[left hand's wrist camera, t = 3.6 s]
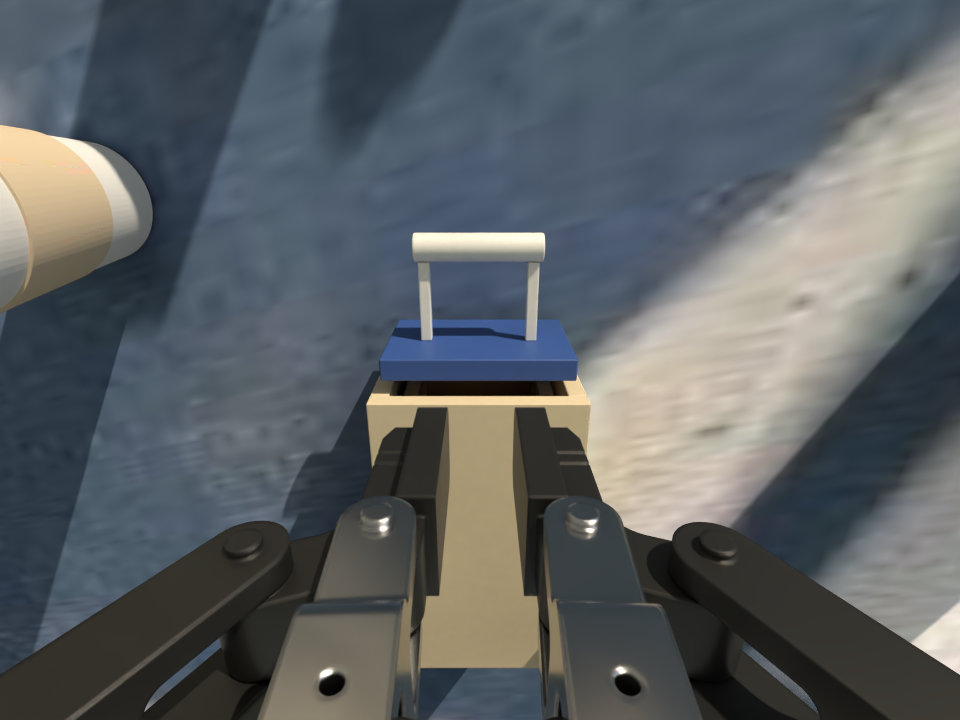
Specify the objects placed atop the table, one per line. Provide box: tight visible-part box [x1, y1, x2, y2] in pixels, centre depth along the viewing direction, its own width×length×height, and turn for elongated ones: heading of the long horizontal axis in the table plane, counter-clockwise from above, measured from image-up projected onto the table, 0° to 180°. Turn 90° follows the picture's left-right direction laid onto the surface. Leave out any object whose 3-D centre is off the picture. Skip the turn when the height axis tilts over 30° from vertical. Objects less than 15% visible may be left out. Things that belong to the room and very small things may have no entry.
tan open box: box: [366, 376, 591, 668], centre depth 33 cm, size 19×11×9 cm, turn 0°
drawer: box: [379, 233, 578, 396], centre depth 31 cm, size 23×10×7 cm, turn 0°
